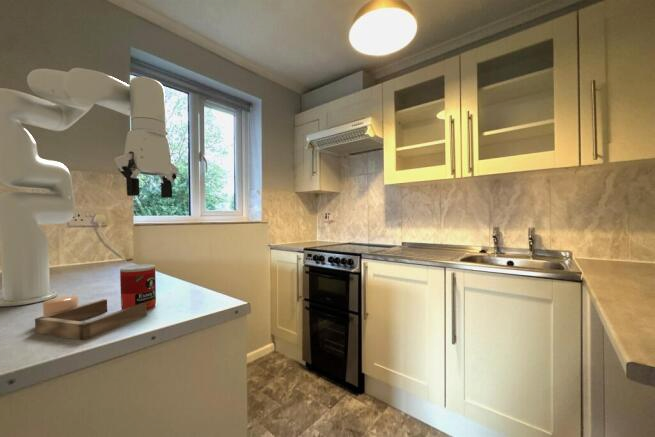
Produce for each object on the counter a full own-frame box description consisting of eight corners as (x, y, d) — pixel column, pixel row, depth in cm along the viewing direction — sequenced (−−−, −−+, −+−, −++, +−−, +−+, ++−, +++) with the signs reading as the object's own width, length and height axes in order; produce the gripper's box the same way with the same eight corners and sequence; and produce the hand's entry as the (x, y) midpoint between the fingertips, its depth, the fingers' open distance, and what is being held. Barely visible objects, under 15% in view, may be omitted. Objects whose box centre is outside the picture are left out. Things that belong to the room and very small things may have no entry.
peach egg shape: (36, 324, 65) (36, 302, 65) (67, 315, 71) (66, 295, 71) (55, 326, 63) (54, 304, 63) (84, 317, 69) (84, 296, 69)
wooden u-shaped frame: (35, 332, 60) (35, 318, 60) (103, 310, 73) (103, 299, 73) (83, 340, 56) (83, 325, 56) (146, 315, 70) (146, 303, 70)
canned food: (139, 313, 71) (138, 269, 71) (113, 312, 72) (111, 269, 72) (163, 304, 78) (162, 264, 78) (138, 302, 80) (137, 263, 80)
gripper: (165, 139, 82) (167, 198, 82) (102, 121, 65) (105, 195, 66) (186, 136, 80) (188, 197, 80) (127, 117, 63) (130, 194, 64)
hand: (151, 196), depth 73 cm, fingers open, 9 cm apart
